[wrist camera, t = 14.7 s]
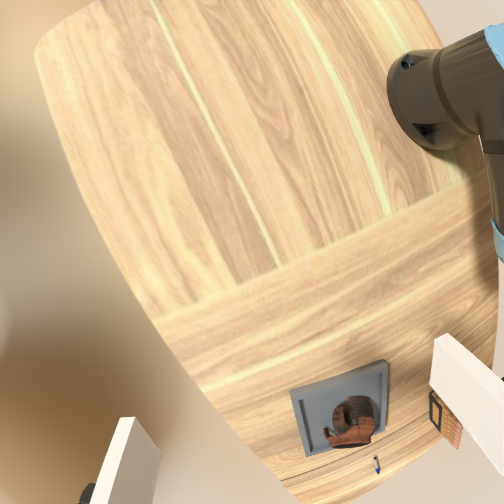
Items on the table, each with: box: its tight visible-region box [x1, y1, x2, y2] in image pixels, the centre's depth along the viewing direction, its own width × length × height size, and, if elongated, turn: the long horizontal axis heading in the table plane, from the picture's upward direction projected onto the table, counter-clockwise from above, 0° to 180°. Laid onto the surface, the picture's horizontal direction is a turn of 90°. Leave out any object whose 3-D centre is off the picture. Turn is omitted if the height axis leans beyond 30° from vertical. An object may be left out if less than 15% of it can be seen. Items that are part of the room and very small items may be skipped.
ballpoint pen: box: [374, 457, 379, 474], centre depth 51 cm, size 10×1×1 cm, turn 25°
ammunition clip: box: [429, 391, 463, 449], centre depth 42 cm, size 11×2×12 cm, turn 24°
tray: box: [289, 359, 388, 457], centre depth 43 cm, size 16×18×2 cm
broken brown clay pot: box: [323, 396, 376, 449], centre depth 41 cm, size 12×10×8 cm
